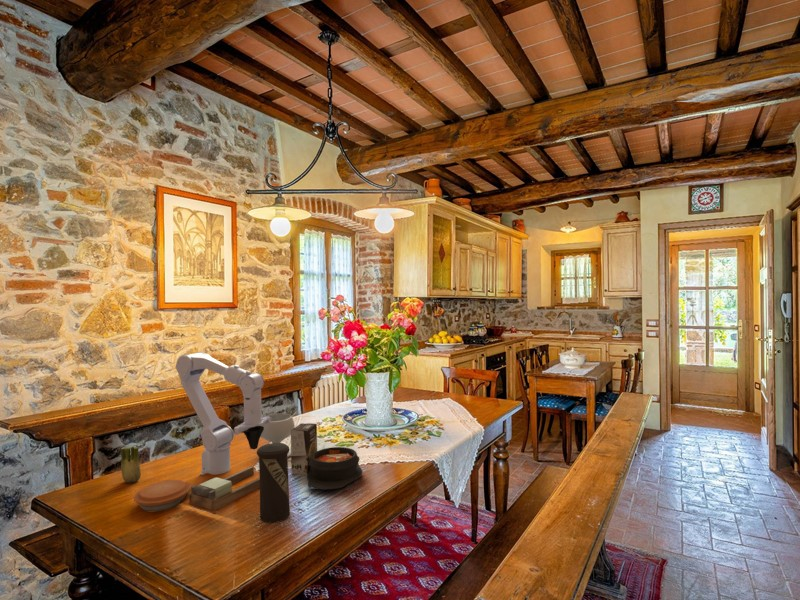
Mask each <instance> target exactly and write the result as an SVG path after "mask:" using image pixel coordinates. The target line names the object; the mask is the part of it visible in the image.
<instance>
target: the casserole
mask: <svg viewBox="0 0 800 600" xmlns="http://www.w3.org/2000/svg"><path fill="white" fill-rule="evenodd" d="M359 462H360V457H359V455H358V453H357V451H356V450H354V449H352V448H349V447H344V446H342V447H341V446H336V447H335V446H334V447H326V448H323V449H319V450H317V452H315V453H314V454H313V455H312V458H311V460H310V461H309V465H310V466H311V468H312V469H311V470H310V471H309V472H308V474H307V475H306V478H307V481H308V482H307V486H308V487H309V488H312V489H315V490H321V491H322V490H323V491H324V490H327V491H328V490H329V491H330V490H338V489H341V488H344V487H345V486H347V485H349V484H350V483H351V482H353V481H355V480H357V479H358V478H360V477H361V476H362V474H363V470H362V468H361V466H360V465H359Z"/></svg>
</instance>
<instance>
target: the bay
mask: <svg viewBox="0 0 800 600" xmlns="http://www.w3.org/2000/svg"><path fill="white" fill-rule="evenodd" d="M254 470H255V469H254V466H249V467H247V468H246V467H245V468H244V469H242V470H240V471H237V472H236V473H233V474H231V475H229V476H226V477H224V478H223V479H225V480H228V481H231V483H232V485H234V484H236V483H238V482H240V481H242V480H244V479H246V478H248V477H250V476H253V475H254V472H255V471H254ZM257 489H260V477H258V478H256V479H253V480H252V481H250V482H248V483H246V484H244V485H242V486H240V487H237V488H235V489H233V490H232V491H231V492H229V493H227V494H225V495H223V496H221V497H219V498H215V490H212V489H209V488H205V487H202V486H199V484H198V485H197V484H195V485H192V486H191V489H190V491H189V492H188V500H189V501H188V502H189V507H191V506H192V508H194V509H198V510H200V511H203V512H206V513H210V514H213V515H216V513H215V511H216V510H218V509H220V508H223V507H224V506H226V505H229V504H230V503H232V502H234V501H235V500H238V499H240V498H241V497H244V496H245V495H248V494H249V493H252V492H253V491H256V490H257ZM190 504H192V505H190ZM193 505H196V506H193ZM197 506H199V507H197ZM200 507H201V508H200ZM203 508H204V509H203ZM207 509H209V510H212V511H214V512H212V511H209V510H207Z"/></svg>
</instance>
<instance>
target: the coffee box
mask: <svg viewBox="0 0 800 600" xmlns="http://www.w3.org/2000/svg"><path fill="white" fill-rule="evenodd" d="M290 450H291V456H290V458H291V460H290V463H291V464H290V465H291V468H290V469H291V474H292V475H303V476H304V475H306V476H307V474H308V472H309V471H310V470H311V469H312V468H311V466H310V465H309V461H310V460H311V458H312V455H313V454H314V453H315V452H317V451H318V427H317V423H307V422H306V423H303V422H302V423H299V424H298V425H296V426H295V428H294V429H292V430H291V435H290Z"/></svg>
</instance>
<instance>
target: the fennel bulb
mask: <svg viewBox="0 0 800 600" xmlns="http://www.w3.org/2000/svg"><path fill="white" fill-rule="evenodd" d="M120 456H121V459H120V460H121V461H120V464H121V465H120V470H121V475H122V479H123V482H124V483H126V484H132V483H135V482H138V480H140V478H141V475H142V474H141V473H142V472H141V465H140V462H139V461H140V460H139V447H138V446H134V445H132V446H131V447H130V446H129V447H121V448H120Z"/></svg>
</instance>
